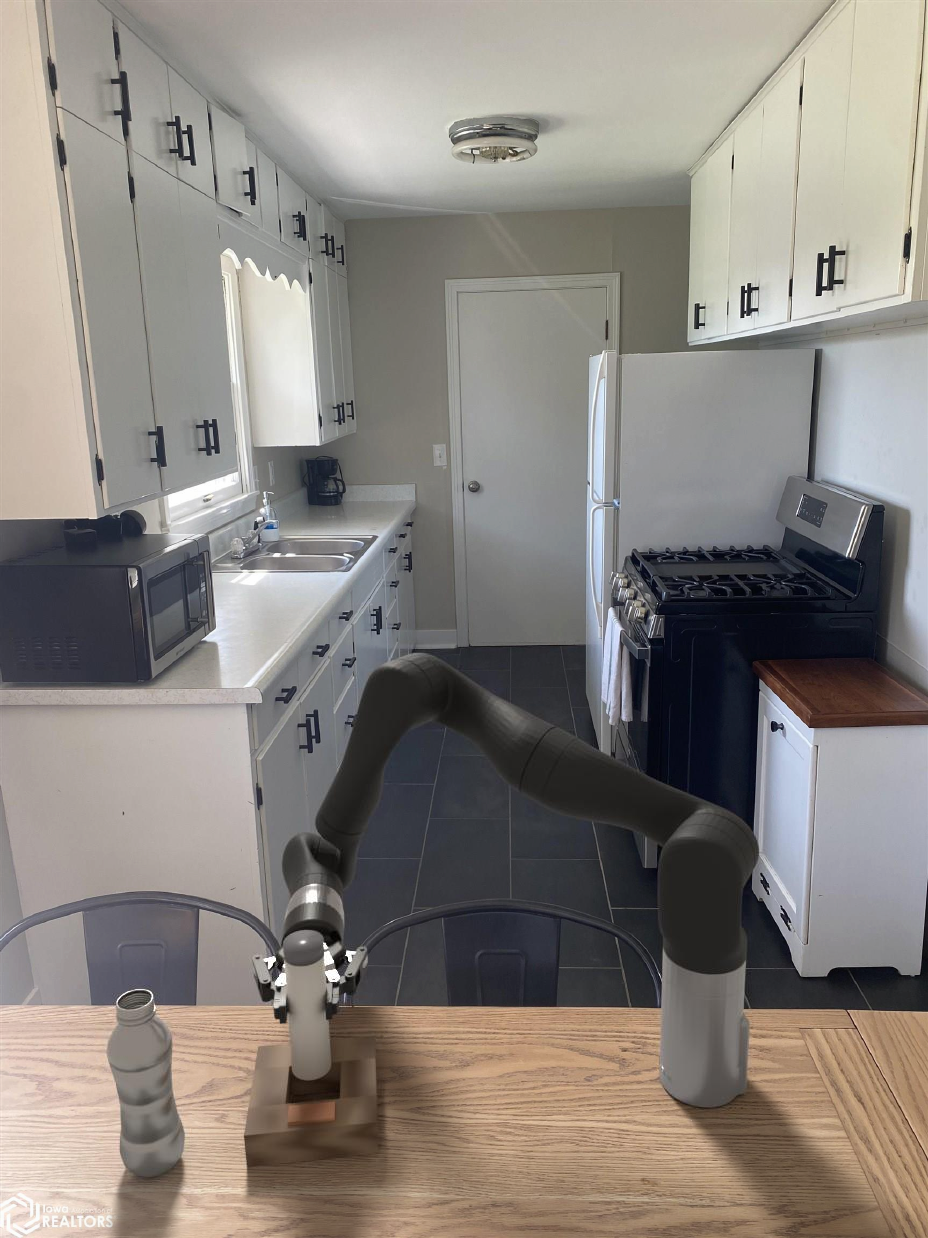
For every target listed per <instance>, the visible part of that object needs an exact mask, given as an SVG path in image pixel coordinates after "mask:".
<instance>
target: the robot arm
mask: <svg viewBox="0 0 928 1238" xmlns="http://www.w3.org/2000/svg"><path fill="white" fill-rule="evenodd" d="M354 719H355V720H354V722H353V726H352V729H351V732H350V737H349V739H348V742H347V745H346V748H345V752H344V754H343V758H342V760H341V762H340V766H339V767H338V769H337V772H336V775H335V776H334V778H333V781H332V782H331V785H330V787H329V789H328V791H327V793H326V794H325V797H324V799H323V800H322V803H321V805H320V807H319V809H318V810H317V813H316V816H315V821H314V826H315V830H316V831H317V833H318V834H319V835H318V834H316V833H312V832H308V831H307V832H306V831H305V832H300V833H297V834H295V835H293V836H292V838H290V840H288V842H287V844H286V845H285V848H284V850H283V853H282V858H281V860H282V861H281V870H282V876H283V880H284V882H285V885H286V888H287V889H288V892H289V900H288V905H287V907H286V911H285V915H284V921H283V928H282V934H281V935H282V937H281V942H280V947H279V948H278V950H277V951H276V952H275V954H274V956H272V957H267V958H264V956H263V955H262V954H259V953H257V954H254V955H253V956H252V960H251V961H252V969H253V970H252V971H253V978H254V981H255V984H256V987H257V991H258V993H259V996H260V999H261V1001H262V1002H264V1003H269V1002H271V1001H273V1005H272V1007H273V1017H274V1019H275V1020H279V1024H280V1025H281V1024H283V1025H284V1024H285V1025H286V1024H287V1023H288V1005H287V993H286V980H285V966H284V953H283V941H284V939H285V938H286V937H287V936H288V935H290V934H292V933H294V932H297V931H301V930H313V931H316V932H319V933H320V934H321V935H322V936H323V938H324V954H325V970H326V986H327V989H326V998H325V1011H326V1020H333V1017H334V1016H335V1015H338V1014H339V1012H340V998H341V996H342V995H344V994H345V995H348V996H354V995H355V994H357V991H358V989H359V987H360V985H361V984H362V983H361V982H362V980H363V979H364V976H365V974H366V972H367V970H368V968H369V963H368V961H369V959H368V958H369V957H368V948H367V946H362V945H361V946H359V947H357V948H356V951H351V950H347V947H346V946H345V945H344V933H345V927H346V925H345V924H346V923H345V912H344V908H343V902H344V891H345V890H347V889H348V888H349V887H350V886H351V884H352V882H353V880H354V877H355V874H356V869H357V861H358V853H359V847H360V844H361V841H362V839H363V838H362V837H363V835H364V833H365V831H366V829H367V827H368V825H369V823H370V821H371V819H372V818H373V816H374V814H375V811H376V810H377V808H378V806H379V803H380V801H381V797H382V794H383V790H384V779H385V778H384V777H385V769H386V767H387V764H388V761H389V759H390V757H391V755H392V754H393V752H394V751H395V749H396V747H397V746H399V744H400V742H401V741H402V740H403V739H404V738H405V736H406V735H407V734H408V733H409V731H410V730H414V729H417V728H419V727H421V726H423V725H425V724H427V723H429V722H433V723H436V724H438V725H440V726H442V727H445V728H447V729H448V730H451V731H452V732H455V733H457V734H459V736H462V737H464V739H466V740H468V741H470V742H471V743H472V744H474V745H475V746H476V747H477V748H478V749H479V750H480V752H481V753H482V754H483V756H484V757H485V758H486V760H487V762H489V764H490V765H491V767H492V769H493V770H494V772H496V774H497V775H498V776H499V777H500V778H501V779H502V780H503V781H504V782H505V783H506V784H507V786H509V787H510V788H512V789H513V790H514V791H516V792H518V793H520V794H521V795H523V796H524V797H526V798H528V799H530V800H532V801H533V802H535V803H537V804H539V805H540V806H543V807H544V808H546V809H548V810H550V811H552V812H554V813H556V814H558V815H561V816H565V817H569V818H572V819H578V820H583V821H588V822H594V823H600V824H605V825H611V826H616V827H620V828H623V829H627V830H629V831H631V832H632V831H633V832H635V833H637V834H639V835H641V836H643V837H645V838H647V839H648V840H650V841H652V842H654V843H656V844H658V846H661V847H662V849H661V852H660V855H659V860H658V870H657V918H658V919H657V920H658V928H659V931H660V934H661V936H662V938H663V941H662V966H661V967H662V970H661V972H662V974H661V975H662V976H661V977H662V978H661V1002H660V1003H661V1005H660V1006H661V1007H660V1008H661V1009H660V1012H661V1013H660V1035H659V1036H660V1040H659V1041H660V1042H659V1050H660V1051H659V1062H658V1063H659V1079H660V1083H661V1085H662V1086H663V1088H664V1089H665V1090H666V1091H667V1092H668V1094H670V1095H671V1096H672V1097H673V1098H675V1099H676V1100H678V1101H680V1102H682V1103H684V1104H687V1105H689V1106H693V1107H699V1108H709V1109H710V1108H718V1107H721V1106H724V1105H727V1104H728V1103H731V1102H732V1101H733V1100H734V1099H735V1098H736V1097H737V1096H741V1095H746V1094H747V1086H748V1085H747V1083H748V1082H747V1081H748V1067H749V1066H748V1065H749V1064H748V1063H749V1050H750V1049H749V1048H750V1028H751V1027H750V1026H751V1023H750V1020H749V1019H748V1017H747V1015H746V1014H745V1012H744V1010H745V1009H744V1007H745V1005H744V1004H745V987H746V986H745V985H746V984H745V983H746V968H747V967H746V966H747V955H748V954H747V952H748V937H747V934H746V930H745V929H744V927H742V908H743V906H742V904H743V903H742V902H743V894H744V893H743V891H744V887H745V886H746V884H747V881H748V880H749V879H750V876H751V875H752V873H753V871H754V869H756V868H755V867H756V866H757V864H758V861H759V856H760V846H759V843H758V838H757V837H756V835H755V833H754V832H753V830H752V829H751V827H750V826H749V825H748V824H747V822H745V821H744V820H743V819H742V818H740V817H739V816H738V815H736V814H735V813H733V812H732V811H730V810H728V809H726V808H724V807H721V806H719V805H716V804H715V803H712V802H710V801H707V800H705V799H702V798H700V797H698V796H695V795H692V794H690V793H688V792H685V791H683V790H681V789H678V788H675V787H673V786H671V785H668V784H666V783H663V782H662V781H659V780H658V779H657V780H656V779H655V778H652V777H650V776H649V775H647V774H645V773H643V772H641V771H639V770H638V769H636V768H634V767H633V766H630V765H628V764H626V763H624V762H623V761H621V760H619V759H617V758H615V757H612V756H611V755H609V754H607V753H605V752H604V751H601V750H600V749H597V748H596V747H594V746H592V745H590V744H589V743H588V742H586V741H584V740H582V739H581V738H579V737H577V736H575V735H573V734H571V733H569V732H567V731H565V730H564V729H562V728H560V727H557V726H556V725H554V724H552V723H550V722H548V721H545V720H543V719H541V718H539V717H537V716H535V714H532V713H529V712H528V711H526V710H524V709H523V708H521V707H519V706H517V705H515V704H514V703H511V702H509V701H507V700H505V699H503V698H501V697H499V696H497V695H496V694H494V693H492V692H490V691H489V690H487V689H485V688H484V687H482V686H481V685H479V684H478V683H476V682H475V681H474V680H472V679H470V678H469V677H468V676H466V675H464V674H463V673H462V672H460V671H459V670H458V669H456V668H454V667H453V666H451V665H450V664H449V663H447V662H446V661H444V660H442V659H440V658H438V657H437V656H436V655H435V656H434V655H432V654H429V653H425V652H412V653H408V654H405V655H403V656H401V657H398V658H395V659H393V660H389V661H387V662H384V663H382V664H380V665H379V666H377V667H376V668H375V669H374V670H373V671H372V672H371V673H370V675H369V676H368V679H367V681H366V683H365V685H364V688H363V691H362V695H361V697H360V700H359V704H358V708H357V712H356V716H355V718H354ZM346 963H347V964H348V966H347V968H346V970H345V972H344V975H342V976H340V975H339V973H338V971H339V970H341V968H342V967H344V965H345V964H346ZM274 969H276V970H277V971H279V972H280V974H279V977H278V978H277V979H276V981H273V980H272V979H271V976H270V975H272V974H273V970H274Z"/></svg>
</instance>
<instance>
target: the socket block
mask: <svg viewBox="0 0 928 1238" xmlns="http://www.w3.org/2000/svg"><path fill="white" fill-rule="evenodd" d="M376 1050H377V1049H376V1035H366V1036H356V1037H355V1036H354V1037H345V1038H332V1039H330V1051H331V1068H330V1070H329V1071H328V1073H327V1074H325V1075H324V1076H323V1077H321V1078H318V1079H315V1080H302V1079H299V1078H297V1077H296V1076H295V1075H294V1074H293V1072H292V1061H291V1048H290V1042H289V1043H278V1044H270V1045H269V1044H268V1045H267V1044H266V1045H260V1046H259V1045H258V1046H257V1051H256V1058H255V1063H254V1064H255V1065H254V1070H253V1075H252V1082H251V1083H252V1084H251V1090H250V1096H249V1101H248V1107H247V1113H246V1118H245V1119H246V1121H245V1127H244V1134H243V1138H244V1140H243V1141H244V1150H245V1153H244V1154H245V1162H246V1163H245V1164H246V1168H251V1167H261V1166H271V1165H279V1164H280V1165H281V1164H290V1163H300V1162H308V1161H318V1160H320V1161H321V1160H329V1159H337V1158H347V1157H348V1158H349V1157H355V1156H356V1157H357V1156H365V1155H366V1156H369V1155H376V1154H379V1127H378V1125H379V1124H378V1123H379V1120H378V1118H379V1117H378V1076H377V1075H378V1074H377V1071H378V1070H377V1051H376ZM338 1091H339V1098H334V1099H333V1098H332V1099H324V1100H313V1101H303V1102H294V1103H292V1096H298V1095H299V1096H300V1095H310V1094H318V1093H319V1094H320V1093H329V1092H331V1093H332V1092H338Z"/></svg>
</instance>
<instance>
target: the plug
mask: <svg viewBox="0 0 928 1238" xmlns="http://www.w3.org/2000/svg"><path fill="white" fill-rule="evenodd" d="M283 953H284V966H285V980H286V993H287V1005H288V1016H287V1022H288V1031H289V1032H288V1033H289V1043H290V1048H291V1061H292V1072H293V1074H294V1075H295V1076H296V1077H297V1078H299V1079H302V1080H315V1079H318V1078H321V1077H323V1076H324V1075H325V1074H327V1073H328V1071H329V1070H330V1068H331V1051H330V1040H331V1038H330V1022H329V1020H326V1011H325V998H326V989H327V986H326V970H325V954H324V938H323V936H322V935H321V934H320V933H319V932H316V931H313V930H301V931H297V932H294V933H292V934H290V935H288V936H287V937H286V938H285V939H284V941H283Z"/></svg>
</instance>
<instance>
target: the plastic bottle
mask: <svg viewBox="0 0 928 1238" xmlns="http://www.w3.org/2000/svg"><path fill="white" fill-rule="evenodd" d="M115 1008H116V1009H115V1010H116V1013H115V1019H116V1022H117V1024H116V1026H115V1027H114V1028H113V1030H112V1032H111V1034H110V1035H109V1037H108V1040H107V1046H106V1050H105V1051H106V1052H105V1053H106V1056H107V1057H106V1058H107V1061H108V1064H109V1068H110V1070H111V1073H112V1076H113V1079H114V1082H115V1086H116V1091H117V1096H118V1101H119V1107H120V1108H119V1111H120V1113H119V1114H120V1134H119V1154H120V1157H121V1159H122V1163H123V1165H124V1168H125V1169H126V1170H127V1171H128V1172H130V1173H132V1174H133V1175H134V1176H136V1177H139V1178H154V1177H158V1176H161V1175H163V1174H165V1173H167V1172H168V1171H170V1170H171V1169H172V1168H173V1167H174V1166H176V1164H177V1162H178V1161H179V1160H180V1158H182V1154H183V1152H184V1149H185V1140H186V1139H185V1137H186V1135H185V1134H186V1133H185V1130H184V1129H185V1128H184V1126H183V1125H184V1124H183V1122H182V1119H181V1117H180V1114H179V1112H178V1107H177V1104H176V1098H175V1094H174V1088H173V1074H172V1063H173V1034H172V1032H171V1030H170V1028H169V1026H168V1025H167V1023H166V1022H164V1020H163V1019H161V1018H160V1017H159V1016H157V1014H156V1013H157V1006H156V1004H155V996H154V994H153V992H152V991H151V990H148V989H144V988H138V989H132V990H129V991H126V992H124V993H123V994H121V995H120V996H119V997H118V998H117V1000H116V1002H115Z"/></svg>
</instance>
